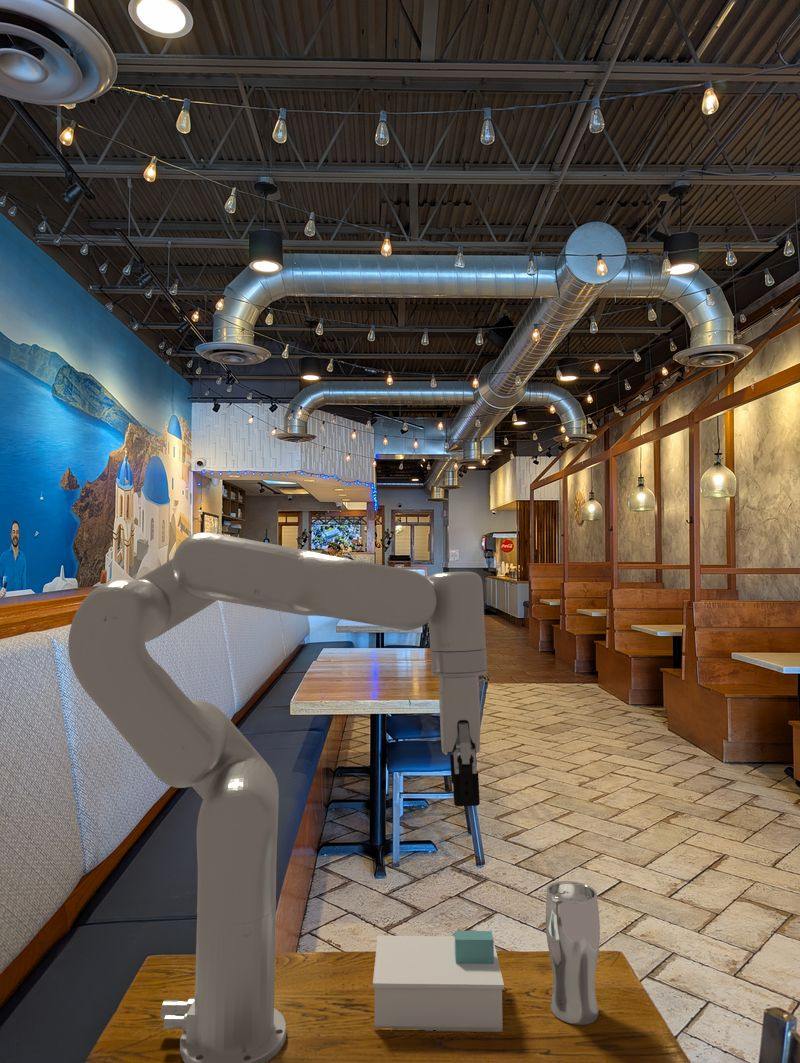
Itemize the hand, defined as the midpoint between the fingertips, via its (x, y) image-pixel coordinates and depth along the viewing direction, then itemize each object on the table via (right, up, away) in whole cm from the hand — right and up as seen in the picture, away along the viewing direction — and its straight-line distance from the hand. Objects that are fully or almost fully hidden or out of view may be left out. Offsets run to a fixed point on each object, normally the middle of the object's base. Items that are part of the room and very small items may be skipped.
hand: (464, 793), depth 89 cm
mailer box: (-4, -28, 0) cm, 28 cm away
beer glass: (+14, -28, -1) cm, 32 cm away
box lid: (-4, -23, +1) cm, 23 cm away
